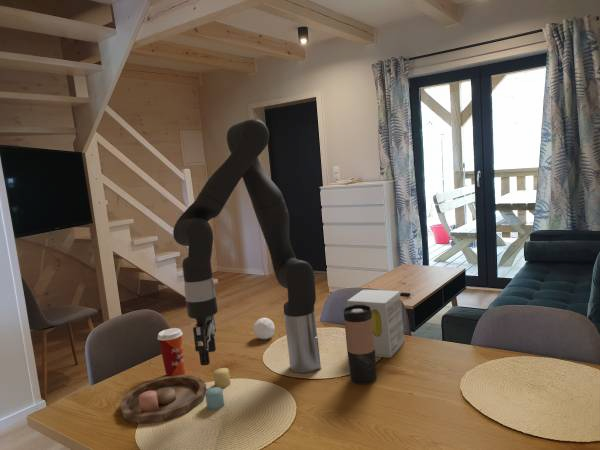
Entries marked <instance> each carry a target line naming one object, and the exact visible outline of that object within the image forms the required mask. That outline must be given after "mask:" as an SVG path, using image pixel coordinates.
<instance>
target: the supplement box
mask: <svg viewBox="0 0 600 450" xmlns="http://www.w3.org/2000/svg"><path fill="white" fill-rule="evenodd" d="M346 301H347V307H349V306H354V305H366V306H369V307H370V308H371V315H372V325H373V335H374V344H375V357H379V358H380V357H382V358H387V359H388V358H389V359H391V358H393V356H394V355H395V354H396V353H397V352H398V350H399V349H400V348H401V347H402V346H403V345H404V343H405V336H404V334H405V333H404V323H403V313H402V302H401V291H399V290H383V289H362V290H361V291H359V292H358V293H355V295H353V296H351V297H350V298H349V299H347V300H346Z"/></svg>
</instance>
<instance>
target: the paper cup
mask: <svg viewBox="0 0 600 450" xmlns="http://www.w3.org/2000/svg"><path fill="white" fill-rule="evenodd" d="M183 334H184V333H183V331H182V330H181V329H180V328H178V327H171V328H167V329H163V330H162V331H159V333H158V334H157V340H158V344H159V348H160V353H161V356H162V361H163V366H164V371H165V375H166V377H168V376H177V375H185V372H186V371H185V358H184V343H183Z"/></svg>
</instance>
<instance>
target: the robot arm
mask: <svg viewBox="0 0 600 450" xmlns="http://www.w3.org/2000/svg"><path fill="white" fill-rule="evenodd" d="M269 140H270V132H269V128H268V126H267V125H266V124H265V122H264V121H261V120H260V119H257V118H252V119H247V120H243V121H241V122H239V123H236V124H233V125H231V126H230V128H229V129H228V130H227V133H226V143H227V146H228V149H229V152H230V154H229V156H228V157H227V159H226V160H225V161H224V162H223V163H222V164H220V166H219V167H218V168H217V169H216V170H215V171H214V173H213V174H211V175H210V177H209V178H208V180H207V181H206V183H205V184H204V185H203V187H202V188H201V190H200V192H199V194H198V195H197V197H196V199H195V201H193V202H192V204H190V205H189V207H187V208H186V210H185V211H184V212H183V213H182V214H181V216H179V217H178V219H177V220H176V222H175V224H174V227H173V229H172V236H173V238H174V241H175V242H176V243H177V244H178V245H181V246H184V247H188V253H187V254H188V256H186V257H185V258H184V259H183V260H182V274H183V280H184V282H183V283H184V296H185V297H184V298H185V303H186V304H185V305H186V312H187V317H188V318H190V319H194V320H196V322H195V325H194V326H193V328H192V330H193V331H192V332H193V339H194V351H195V352H198V354H199V362H200V365H201V366H208V365H210V362H211V359H210V353H213V352H216V340H215V337H216V332H217V328H216V322H215V315H216V314H217V313H218V311H219V310H218V309H219V308H218V302H217V301H218V300H217V294H216V286H215V282H214V279H213V278H214V276H213V270H212V263H211V261H212V260H211V259H212V254H213V253H212V252H213V245H214V244H213V243H214V234H213V229H212V226H211V224H210V223H209V221H210V220H212V219H215V218H217V217H218V216H219V215H220V214H221V213H222V210H223V209H224V208H225V205H226V203H227V202H228V200H229V198H230V197H231V195H232V193H233V192H234V190H235V188H236V186H237V185H238V183H239V182H240V181H241V180H243V182H244V185H245V189H246V190H247V193H248V194H247V195H249V196H248V197H249V198H250V201H251V206H252V208H253V211H254V213H255V216H256V219H257V223H258V224H259V227H260V230H261V232H262V235H263V237H264V241H265V244H266V246H267V249H268V252H269V255H270V259H271V264H272V267H273V268H272V269H273V272H274V276H275V278H276V282H278V284H279V285H280V286H281V287H283V288H284V289H287V299H288V300H287V301H285V303H284V304H283V316H284V324H285V332H286V342H287V350H288V358H289V367H290V370H291V371H293V372H295V373H303V374H304V373H311V372H313V371H316V370H319V369H322V366H321V356H320V348H319V347H320V346H319V337H318V331H317V321H316V313H315V305H316V300H317V294H316V293H317V291H316V280H315V279H316V277H315V272H314V269H313V267H312V265H311V264H310V263H309V262H308V261H306V260H301V259H297V257H296V255H295V252H294V249H293V246H292V244H291V240H290V214H289V210H288V207H287V204H286V200H285V199H284V195H283V193H282V191H281V190H280V188H279V187H278V186H277V185H276V183H275V182H274V181H273V180H272V178H270V177H269V175H268V174H267V173H266V172H265V170H264V169H263V167H262V165H261V162H260V159H259V156H260V155H261V154H262V152H263V151H264V150H265V149H266V147H267V145H268V144H269ZM201 343H202V345H201Z"/></svg>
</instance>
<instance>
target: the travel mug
mask: <svg viewBox="0 0 600 450" xmlns="http://www.w3.org/2000/svg"><path fill="white" fill-rule="evenodd" d="M343 319H344V329H345V340H346V350H347V351H346V352H347V358H348V359H347V360H348V367H349V373H350V379H351V382H353V383H354V384H357V385H369V384H372V383H374V382H376V380H377V377H378V376H377V362H376V360H377V359H376V356H375V344H374V335H373V325H372V315H371V308H370V307H369V306H366V305H354V306H349V307H348V306H347V307H345V308H343Z"/></svg>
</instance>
